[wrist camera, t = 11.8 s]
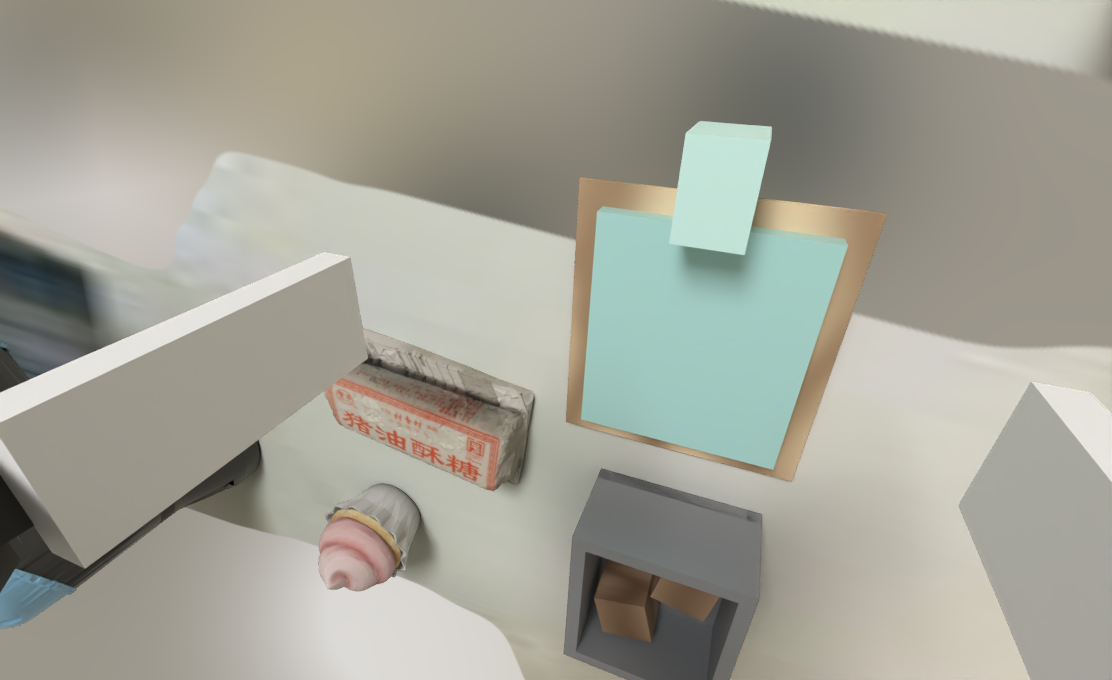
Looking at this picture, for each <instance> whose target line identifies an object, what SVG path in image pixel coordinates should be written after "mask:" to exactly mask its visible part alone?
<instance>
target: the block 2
mask: <svg viewBox="0 0 1112 680" xmlns="http://www.w3.org/2000/svg"><path fill="white" fill-rule="evenodd" d="M650 597H652V598H654V599H656V600H658V601H660V602H662V603H664V604H666V605H669V606H671V607H673V608H675V609H677V610H679V611H681V612H683V613H685V614H688V615H690V616H692V617H694V618H696V619H698V620H700V621H702V622H704V620H705V619H706V617H707V616H708V614H709V613H710V611H711V610H712V608H713V607H714V605H715V604H716V602H717V601H718V599H719V598H720V597H718V596H715V595H712V594H710V593H707V592H704V591H701V590H698V589H695V588H692V587H689V586H686V585H683V584H680V583H677V582H674V581H671V580H668V579H665V578H662V577H659V576H656V575H655V579H654V583H653V587H652V592H651V596H650Z"/></svg>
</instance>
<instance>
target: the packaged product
mask: <svg viewBox="0 0 1112 680" xmlns="http://www.w3.org/2000/svg"><path fill="white" fill-rule="evenodd" d="M363 332H364V338H365V344H366V350H367V355H368V359H366V360H365V361H364V362H362V363H361V364H360V365H358V366H357V367H356V368H354V369H353V370H352V371H350V372H349V373H348V374H346V375H345V376H344V377H342V378H341V379H340V380H338V381H337V382H336V383H334V384H333V385H332V386H330V387H329V388H327V389H326V390H325V391H324V395H325V397H326V399H327V400H328V402H329V404H330V407H331V409H332V410H333V413H334V414H333V415H334V417H335V418H336V420H337V421H338V423H339V424H340V425H342V426H344V427H345V428H347V429H350V430H352V431H355V432H357V433H359V434H361V435H363V436H365V437H368V438H371V439H373V440H375V441H377V442H379V443H382V444H384V445H386V446H389V447H391V448H393V449H396V450H398V451H400V452H402V453H405V454H407V455H409V456H411V457H413V458H416V459H419V460H422V461H424V462H425V463H427V464H430V465H432V466H435V467H436V468H439V469H441V470H443V471H446V472H449V473H451V474H453V475H455V476H458V477H460V478H461V479H463V480H466V481H469V482H471V483H473V484H476V485H478V486H479V487H481V488H484V489H487V490H491V491H494V490H496V489H497V488H498V487H499V486H500V485H501V483H504V482H507V481H508V482H510V483H513V484H515V485H517V484H518V483H519V478H520V473H521V468H522V464H523V459H524V454H525V447H526V440H527V431H528V426H529V421H530V415H531V409H532V403H533V396H534V393H533V392H532V391H530V390H528V389H525V388H522V387H519V386H517V385H514V384H511V383H508V382H506V381H503V380H499V379H497V378H495V377H492V376H490V375H487V374H485V373H483V372H480V371H478V370H475V369H473V368H471V367H468V366H466V365H463V364H460V363H458V362H455V361H452V360H450V359H447V358H445V357H442V356H439V355H437V354H434V353H432V352H429V351H427V350H424V349H421V348H419V347H416V346H413V345H410V344H408V343H405V342H402V341H400V340H397V339H394V338H391V337H388V336H385V335H382V334H379V333H376V332H373V331H370V330H367V329H364V328H363Z"/></svg>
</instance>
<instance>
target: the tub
mask: <svg viewBox="0 0 1112 680" xmlns="http://www.w3.org/2000/svg"><path fill="white" fill-rule="evenodd" d="M761 528H762V514H758V513H755V512H751V511H748V510H744V509H741V508H737V507H734V506H731V505H727V504H724V503H720V502H717V501H713V500H710V499H706V498H703V497H699V496H696V495H692V494H689V493H685V492H682V491H678V490H675V489H671V488H668V487H664V486H661V485H657V484H654V483H650V482H647V481H643V480H640V479H636V478H633V477H629V476H626V475H622V474H619V473H615V472H612V471H608V470H605V469H601V471H600V473H599V475H598V478H597V480H596V482H595V485H594V487H593V489H592V492H591V494H590V497H589V499H588V501H587V504H586V506H585V508H584V511H583V513H582V515H581V518H580V520H579V523H578V525H577V527H576V530H575V532H574V534H573V537H572V549H571V563H570V576H569V589H568V603H567V616H566V630H565V643H564V654H565V655H567V656H570V657H572V658H575V659H577V660H580V661H582V662H585V663H587V664H590V665H592V666H594V667H597V668H599V669H602V670H604V671H607V672H609V673H612V674H614V675H617V676H619V677H622V678H624V679H627V680H729V679H730V676H731V673H732V671H733V668H734V665H735V663H736V660H737V657H738V655H739V652H740V649H741V647H742V644H743V641H744V639H745V636H746V633H747V631H748V628H749V625H750V623H751V620H752V617H753V615H754V612H755V609H756V607H757V604H758V601H759V594H760V561H761ZM607 559H609V560H612V561H615V562H618V563H621V564H624V565H627V566H630V567H633V568H636V569H639V570H642V571H645V572H647V573H650V574H653V575H656V576H659V577H662V578H665V579H668V580H671V581H674V582H677V583H680V584H683V585H686V586H689V587H692V588H695V589H698V590H701V591H704V592H707V593H710V594H712V595H715V596H718V597H720V598H719V599H718V601H717V602H716V604H715V605H714V607H713V608H712V610H711V611H710V613H709V614H708V616H707V617H706V619H705V620H704V622H702V621H700V620H698V619H696V618H694V617H692V616H690V615H688V614H685V613H683V612H681V611H679V610H677V609H675V608H673V607H671V606H669V605H666V604H664V603H662V602H660V604H659V609H658V614H657V619H656V623H655V628H654V633H653V637H652V642H648V641H643V640H638V639H634V638H629V637H624V636H620V635H615V634H610V633H606V632H603V631H602V627H601V623H600V619H599V615H598V612H597V608H596V604H595V600H594V596H595V593H596V590H597V587H598V584H599V582H600V579H601V576H602V573H603V570H604V567H605V564H606V561H607Z"/></svg>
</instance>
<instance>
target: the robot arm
mask: <svg viewBox="0 0 1112 680" xmlns="http://www.w3.org/2000/svg"><path fill="white" fill-rule="evenodd" d="M9 351H10V349H9V347H8V346H7V345H6V344H4V343H2V342H0V629H7V628H13V627H17V626H20V625H22V624H24V623H26V622H28V621H30V620H31V619H33V618H34V617H36V616H37V615H39V614H40V613H41V612H43V611H44V610H45V609H47V608H48V607H50V606H51V605H53V604H54V603H55V602H57V601H58V600H60V599H61V598H63V597H64V596H66V595H69V594H72V593H74V592H75V591H76V588H77V587H78V586H80V585H81V584H82V583H84V582H85V581H86V580H88V579H89V578H90V577H92V576H93V575H94V574H95V573H97V572H98V571H99V570H101V569H102V568H103V567H105V566H106V565H107V564H108V563H110V562H111V561H112V560H114V559H115V558H116V557H118V556H119V555H120V554H121V553H123V552H124V551H125V550H127V549H128V548H129V547H131V546H132V545H133V544H134V543H136V542H137V541H138V540H140V539H141V538H142V537H144V536H145V535H146V534H147V533H149V532H150V531H151V530H153V529H154V528H155V527H157V526H158V525H159V524H160V523H162V522H163V521H164V520H166V519H167V518H168V517H169V516H171V515H172V514H174V513H175V512H176V511H178V510H179V509H181V508H183V507H186V506H188V505H191V504H193V503H195V502H198V501H200V500H203V499H205V498H207V497H210V496H212V495H214V494H216V493H219V492H221V491H223V490H225V489H229V488H231V487H234V486H236V485H237V484H239V483H240V482H242V481H243V480H244V479H245V478H247V477H248V476H249V475H250V474H252V473H253V472H254V471H255V470H256V469H257V467H258V465H259V460H260V452H259V447H258V443H257V441H258V440H259V439H260V438H262V437H263V436H264V435H266V434H267V433H268V432H270V431H271V430H272V429H274V428H275V427H276V426H278V425H279V424H280V423H282V422H283V421H284V420H286V419H287V418H288V417H290V416H291V415H293V414H294V413H295V412H297V411H298V410H299V409H301V408H302V407H303V406H305V405H306V404H307V403H309V402H310V401H311V400H313V399H314V398H315V397H317V396H318V395H319V394H321V393H322V392H323V391H325V390H326V389H327V388H329V387H330V386H332V385H333V384H334V383H336V382H337V381H338V380H340V379H341V378H342V377H344V376H345V375H346V374H348V373H349V372H350V371H352V370H353V369H354V368H356V367H357V366H358V365H360V364H361V363H362V362H364V361H365V360H366V359H368V355H367V350H366V344H365V338H364V332H363V327H362V321H361V315H360V310H359V304H358V298H357V293H356V287H355V281H354V276H353V270H352V264H351V258H350V257H347V256H341V255H336V254H330V253H325V252H323V253H321V254H319V255H316V256H314V257H312V258H309V259H307V260H305V261H302V262H300V263H298V264H295V265H293V266H291V267H289V268H286V269H284V270H282V271H279V272H277V273H275V274H272V275H270V276H268V277H265V278H263V279H261V280H259V281H256V282H254V283H252V284H249V285H247V286H245V287H242V288H240V289H238V290H235V291H233V292H231V293H229V294H226V295H224V296H222V297H219V298H217V299H215V300H212V301H210V302H208V303H206V304H203V305H201V306H199V307H196V308H194V309H192V310H189V311H187V312H185V313H182V314H180V315H178V316H176V317H173V318H171V319H169V320H166V321H164V322H162V323H159V324H157V325H155V326H152V327H150V328H148V329H146V330H143V331H141V332H139V333H136V334H134V335H132V336H129V337H127V338H125V339H122V340H120V341H118V342H116V343H113V344H111V345H109V346H106V347H104V348H102V349H99V350H97V351H95V352H92V353H90V354H88V355H86V356H83V357H81V358H79V359H76V360H74V361H72V362H69V363H67V364H65V365H62V366H60V367H58V368H56V369H53V370H51V371H49V372H46V373H44V374H42V375H39V376H37V377H35V378H32V379H29V378H28V377H27V375H26V374H25V373H24V371H23V370H22V369H21V368H20V366H19V365H18V364H17V363H16V361H15V360H14V359H13V357H12V356H11V355H10V354H9ZM958 506H959V508H960V510H961V513H962V515H963V518H964V520H965V522H966V525H967V527H968V530H969V532H970V534H971V537H972V539H973V542H974V544H975V546H976V549H977V551H978V554H979V556H980V558H981V561H982V563H983V566H984V568H985V571H986V573H987V575H988V578H989V580H990V583H991V585H992V587H993V590H994V592H995V595H996V597H997V599H998V602H999V604H1000V607H1001V609H1002V611H1003V614H1004V616H1005V619H1006V621H1007V623H1008V626H1009V628H1010V631H1011V633H1012V635H1013V638H1014V640H1015V643H1016V645H1017V647H1018V650H1019V652H1020V655H1021V657H1022V659H1023V662H1024V664H1025V667H1026V669H1027V671H1028V674H1029V676H1030V679H1031V680H1112V414H1111V413H1110V412H1109V411H1108V410H1107V409H1106V408H1105V407H1104V406H1103V405H1102V403H1101V402H1100V401H1099V400H1098V399H1097V398H1096V397H1095V396H1094V395H1093V394H1092V393H1091V392H1086V391H1080V390H1075V389H1069V388H1064V387H1058V386H1053V385H1048V384H1042V383H1037V382H1031V383H1030V384H1029V386H1028V388H1027V389H1026V391H1025V393H1024V395H1023V396H1022V398H1021V400H1020V401H1019V403H1018V405H1017V406H1016V408H1015V410H1014V411H1013V413H1012V415H1011V417H1010V418H1009V420H1008V422H1007V423H1006V425H1005V427H1004V428H1003V430H1002V432H1001V434H1000V435H999V437H998V439H997V440H996V442H995V444H994V445H993V447H992V449H991V451H990V452H989V454H988V456H987V457H986V459H985V461H984V462H983V464H982V466H981V467H980V469H979V471H978V473H977V474H976V476H975V478H974V479H973V481H972V483H971V484H970V486H969V488H968V490H967V491H966V493H965V495H964V496H963V498H962V500H961V501H960V503H959V505H958Z"/></svg>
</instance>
